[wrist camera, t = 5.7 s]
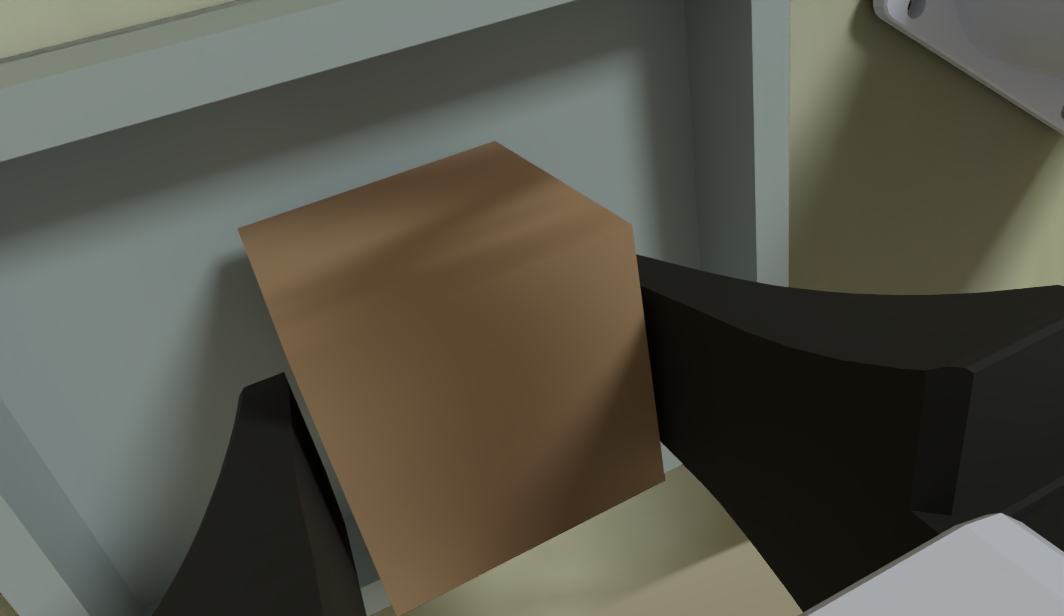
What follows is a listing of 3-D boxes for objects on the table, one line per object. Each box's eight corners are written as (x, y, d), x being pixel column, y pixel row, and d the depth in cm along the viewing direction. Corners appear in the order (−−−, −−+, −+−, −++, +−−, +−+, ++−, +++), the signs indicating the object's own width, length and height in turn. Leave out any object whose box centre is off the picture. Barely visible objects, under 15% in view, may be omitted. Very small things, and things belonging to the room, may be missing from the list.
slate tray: (698, -115, 15) (790, -115, 13) (722, 361, 20) (788, 412, 18) (-251, 121, 10) (-338, 176, 8) (119, 632, 16) (118, 737, 14)
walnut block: (495, 141, 14) (632, 224, 10) (540, 350, 16) (665, 480, 12) (237, 228, 12) (288, 361, 9) (327, 442, 15) (396, 617, 11)
